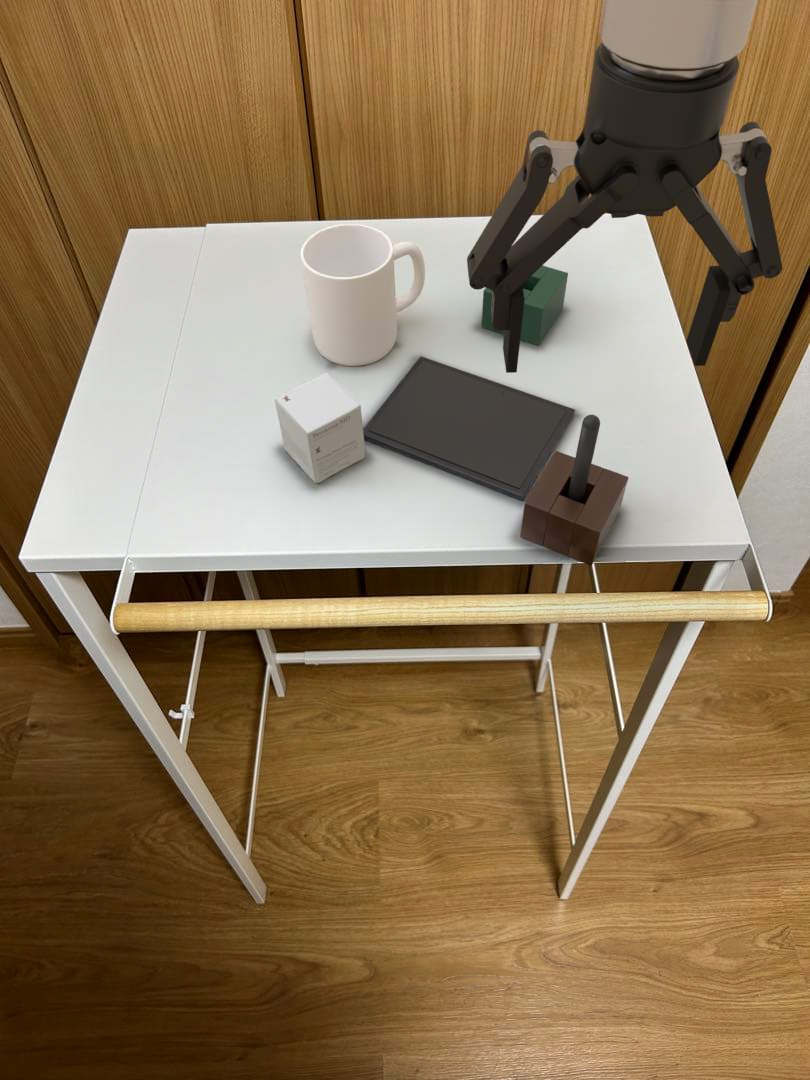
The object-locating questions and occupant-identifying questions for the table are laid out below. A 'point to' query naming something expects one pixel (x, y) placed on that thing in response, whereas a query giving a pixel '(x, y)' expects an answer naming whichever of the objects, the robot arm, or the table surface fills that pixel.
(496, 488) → the tablet
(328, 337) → the cup
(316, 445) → the product box
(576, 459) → the stylus
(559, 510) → the holder
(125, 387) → the table surface
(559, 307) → the stand
